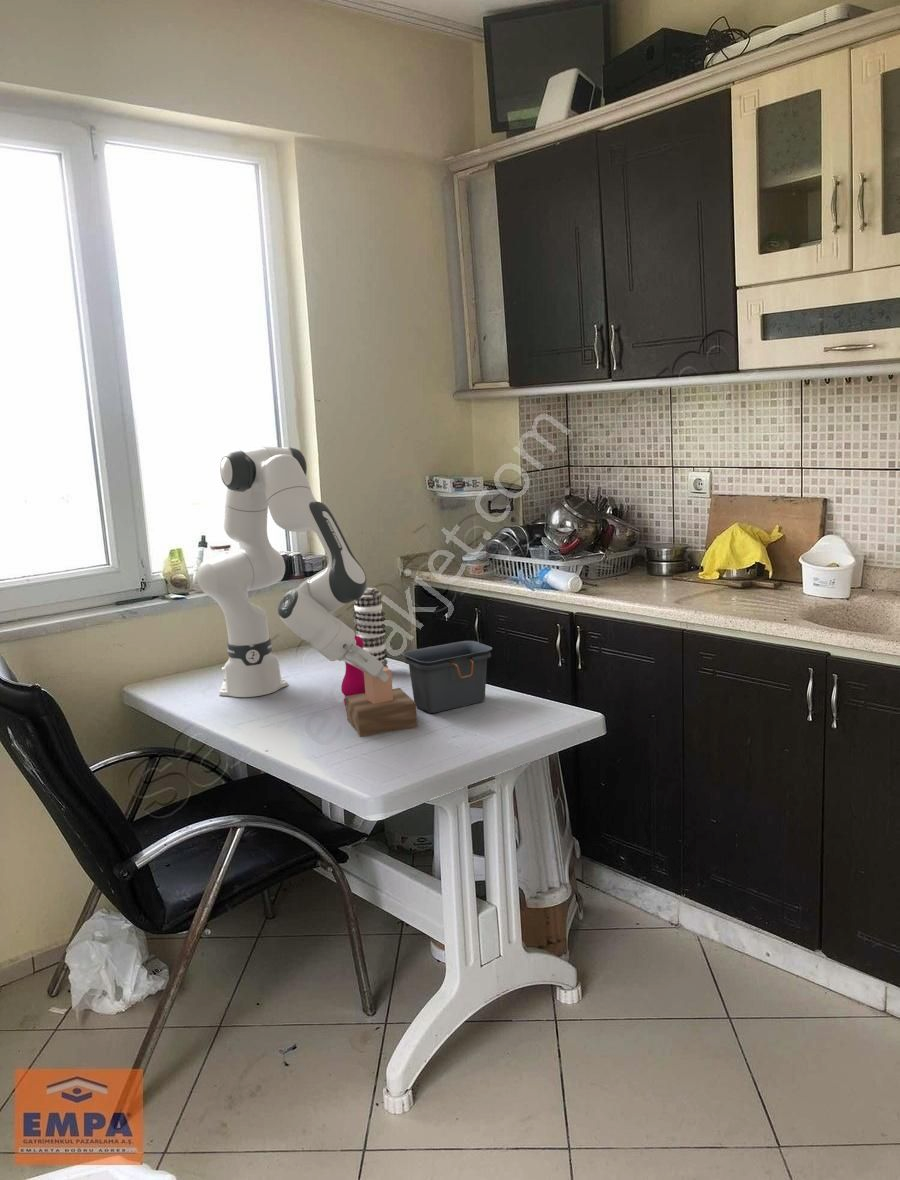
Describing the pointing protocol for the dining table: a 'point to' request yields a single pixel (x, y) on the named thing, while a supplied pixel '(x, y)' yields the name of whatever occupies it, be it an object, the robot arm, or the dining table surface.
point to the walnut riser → (381, 713)
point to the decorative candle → (371, 623)
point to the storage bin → (448, 675)
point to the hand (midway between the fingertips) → (377, 674)
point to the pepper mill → (353, 677)
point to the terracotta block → (378, 688)
